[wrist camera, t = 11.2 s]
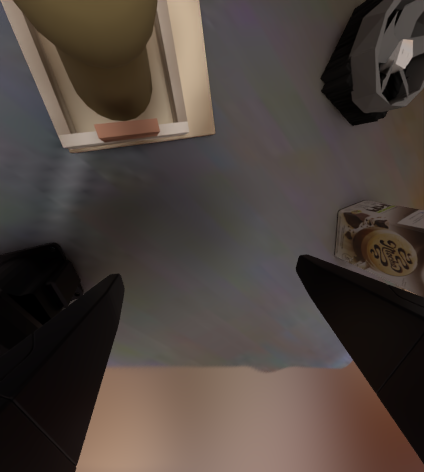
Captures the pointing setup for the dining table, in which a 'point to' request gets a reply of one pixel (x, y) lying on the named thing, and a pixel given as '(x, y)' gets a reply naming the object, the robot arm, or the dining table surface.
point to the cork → (101, 49)
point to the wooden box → (162, 75)
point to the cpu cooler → (377, 60)
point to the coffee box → (384, 242)
